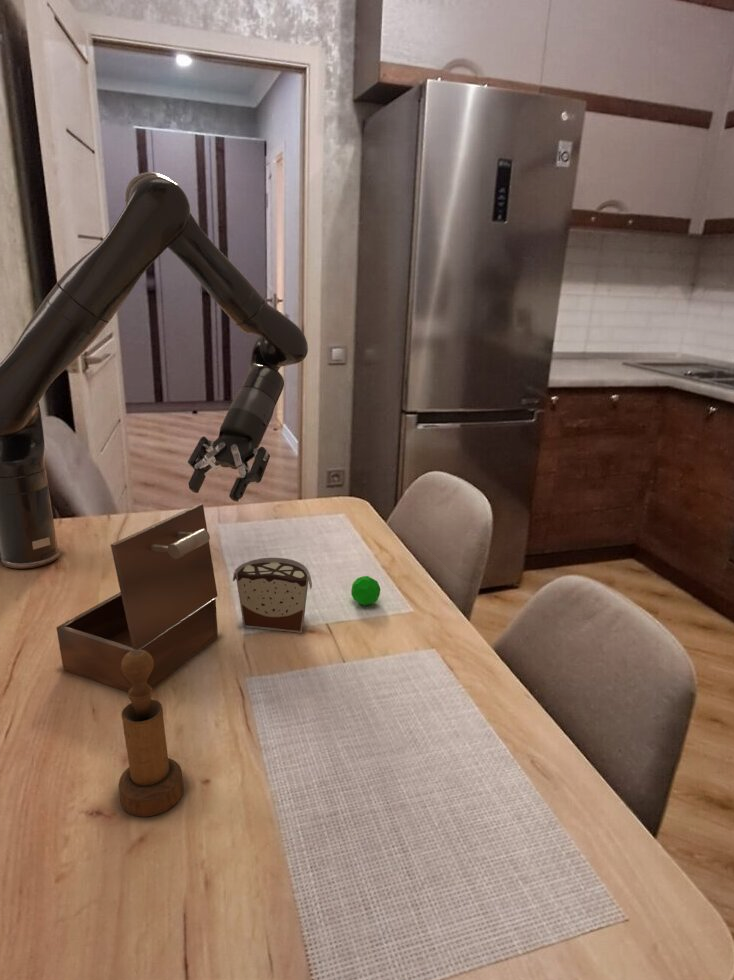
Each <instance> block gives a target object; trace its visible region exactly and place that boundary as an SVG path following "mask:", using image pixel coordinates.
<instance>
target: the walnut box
mask: <svg viewBox="0 0 734 980" xmlns="http://www.w3.org/2000/svg"><path fill="white" fill-rule="evenodd" d="M217 615H218V614H217V600H216V598H214V599H213V600H211V601H210V602H208V603H207V604H205V605H204V606H202V607H201V608H199V609H198V610H196V611H195V612H193V613H192V614H190V615H189V616H187V617H186V618H184V619H183V620H181V621H180V622H178V623H177V624H175V625H174V626H172V627H171V628H170V629H168V630H167V631H165V632H164V633H162V634H161V635H159V636H158V637H156V638H155V639H153V640H152V641H150V642H149V643H147V644H146V645H144V646H143V647H141V648H140V649H138V650H145V651H147V652H148V653H149V654H150V655H151V656H152V658H153V661H154V666H153V670H152V672H151V674H150V676H149V677H148V679H147V684H148V685H149V686H151V688H152V689H153V688H154V687H155V686H156V685H157V684H159V683H160V682H162V681H163V680H164V679H165V678H167V677H168V676H169V675H171V674H172V673H173V672H174V671H176V670H177V669H178V668H180V667H181V666H183V665H184V664H185V663H187V662H188V661H189V660H191V659H192V658H193V657H194V656H196V655H197V654H198V653H200V652H201V651H202V650H203V649H205V648H206V647H208V646H209V645H210V644H211V643H213V642H214V641H216V640H217V639H218V638H219V631H218V617H217ZM56 632H57V639H58V645H59V651H60V658H61V663H62V669H63V670H64V671H67V672H69V673H72V674H75V675H78V676H80V677H84V678H86V679H89V680H92V681H95V682H98V683H101V684H104V685H107V686H110V687H112V688H115V689H118V690H121V691H124V692H127V693H128V692H129V690H130V689H131V688H132V683H131V682H130V681H129V680H128V679H127V678H126V677H125V676H124V674H123V672H122V669H121V663H122V660H123V658H124V656H125V655H126V654H127V653H128V652H130V651H133V650H135V649H133V647H132V643H131V638H130V633H129V629H128V624H127V619H126V615H125V610H124V605H123V601H122V596H121V591H120V592H118V593H116V594H114V595H112V596H110V597H109V598H107V599H105V600H103V601H101V602H100V603H98V604H96V605H94V606H92V607H91V608H89V609H86V610H85V611H83V612H82V613H80V614H78V615H76V616H74V617H72V618H71V619H69V620H67V621H65V622H63V623H62V624H60V625H57V626H56Z"/></svg>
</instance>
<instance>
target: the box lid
mask: <svg viewBox="0 0 734 980" xmlns="http://www.w3.org/2000/svg"><path fill="white" fill-rule="evenodd" d="M210 535H211V534H210V533H209V532H208V526H207V520H206V515H205V509H204V504H203V503H198V504H195V505H193V506H191V507H189V508H187V509H185V510H182V511H180V512H177V513H176V514H173V515H172V516H169V517H167V518H165V519H163V520H161V521H159V522H156V523H155V524H152V525H150V526H147V527H145V528H143V529H141V530H139V531H137V532H135V533H133V534H130V535H128V536H125V537H124V538H122V539H120V540H117V541H116V542H113V543H111V544H110V549H111V554H112V559H113V563H114V567H115V572H116V578H117V582H118V587H119V590H120V592H121V596H122V601H123V605H124V610H125V615H126V619H127V624H128V629H129V633H130V638H131V643H132V647H133V649H135V650H138V649H140V648H141V647H143V646H144V645H146V644H147V643H149V642H150V641H152V640H153V639H155V638H156V637H158V636H159V635H161V634H162V633H164V632H165V631H167V630H168V629H170V628H171V627H172V626H174V625H175V624H177V623H178V622H180V621H181V620H183V619H184V618H186V617H187V616H189V615H190V614H192V613H193V612H195V611H196V610H198V609H199V608H201V607H202V606H204V605H205V604H207V603H208V602H210V601H211V600H213V599H214V598H215V599H216V598H217V597H218V590H217V583H216V576H215V571H214V565H213V557H212V552H211V545H210V539H211V536H210Z"/></svg>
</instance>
